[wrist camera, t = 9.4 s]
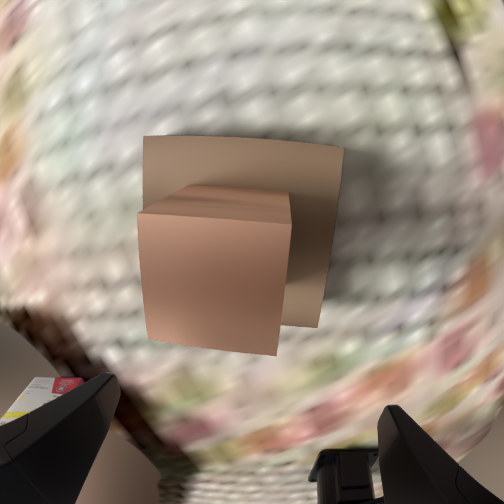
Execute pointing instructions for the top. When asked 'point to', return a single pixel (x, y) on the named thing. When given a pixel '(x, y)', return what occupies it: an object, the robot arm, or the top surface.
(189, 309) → the terracotta cube
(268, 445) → the top surface
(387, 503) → the robot arm
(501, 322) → the top surface
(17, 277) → the top surface
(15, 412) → the ink box
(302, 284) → the tan square slab
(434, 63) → the top surface
